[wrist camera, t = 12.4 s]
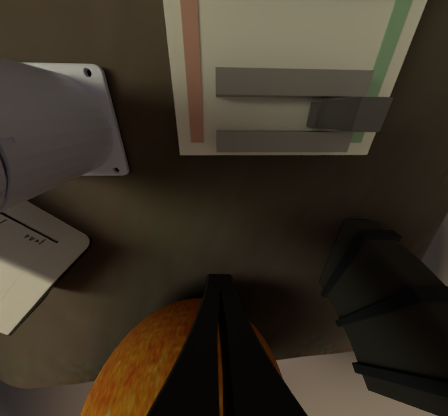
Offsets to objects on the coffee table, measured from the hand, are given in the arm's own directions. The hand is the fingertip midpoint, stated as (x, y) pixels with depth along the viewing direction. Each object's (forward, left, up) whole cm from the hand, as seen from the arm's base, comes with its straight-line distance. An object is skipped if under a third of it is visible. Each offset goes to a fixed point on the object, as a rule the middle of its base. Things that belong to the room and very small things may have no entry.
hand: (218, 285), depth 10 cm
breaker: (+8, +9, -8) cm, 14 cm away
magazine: (+16, -8, -10) cm, 20 cm away
